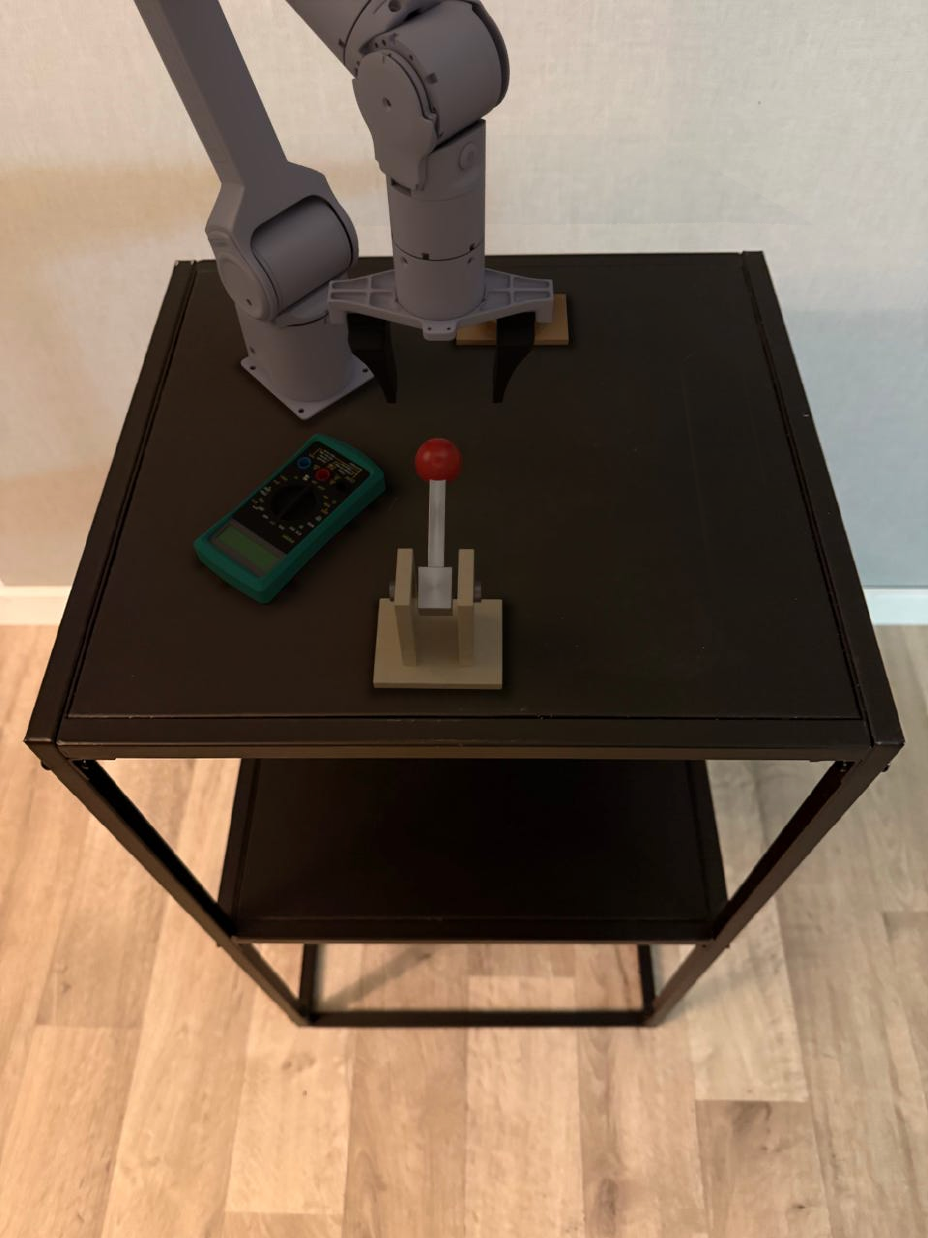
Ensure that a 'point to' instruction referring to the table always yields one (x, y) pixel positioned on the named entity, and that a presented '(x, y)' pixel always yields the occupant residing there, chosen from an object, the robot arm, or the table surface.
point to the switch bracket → (438, 635)
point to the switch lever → (437, 525)
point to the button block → (543, 331)
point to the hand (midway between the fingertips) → (444, 393)
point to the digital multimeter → (290, 517)
